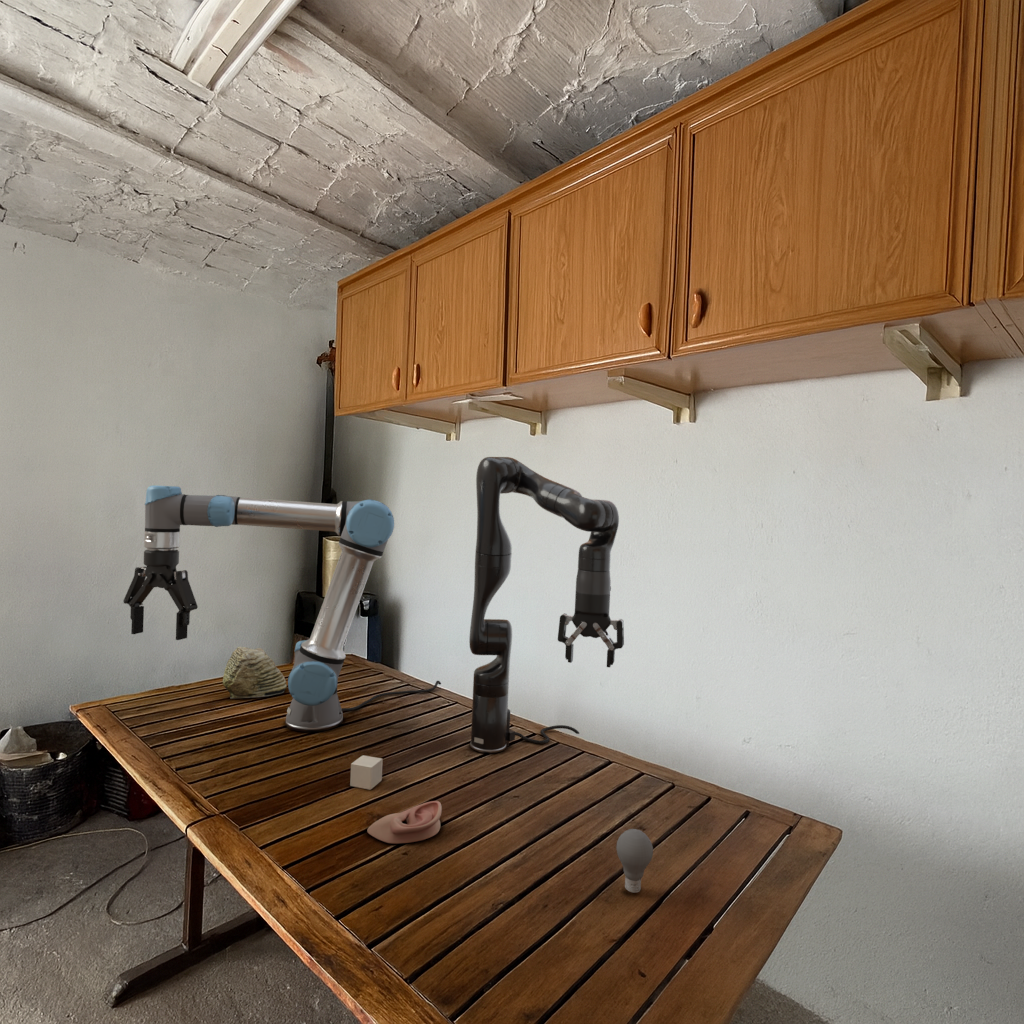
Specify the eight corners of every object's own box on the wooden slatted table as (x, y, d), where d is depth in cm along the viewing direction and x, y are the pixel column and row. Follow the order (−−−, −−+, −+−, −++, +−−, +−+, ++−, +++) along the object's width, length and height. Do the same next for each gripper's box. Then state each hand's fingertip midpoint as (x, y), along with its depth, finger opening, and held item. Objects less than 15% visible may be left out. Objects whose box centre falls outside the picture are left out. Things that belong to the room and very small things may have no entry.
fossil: (218, 695, 195) (220, 647, 195) (278, 685, 208) (279, 640, 207) (228, 703, 189) (230, 653, 188) (289, 692, 201) (290, 645, 201)
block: (350, 785, 139) (350, 763, 139) (361, 776, 144) (362, 755, 144) (370, 789, 138) (371, 767, 138) (381, 780, 143) (382, 758, 143)
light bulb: (610, 879, 108) (613, 822, 108) (644, 879, 109) (647, 822, 109) (619, 902, 102) (622, 840, 102) (655, 901, 103) (658, 840, 103)
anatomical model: (360, 817, 118) (385, 790, 129) (359, 839, 118) (384, 809, 129) (428, 828, 115) (447, 799, 126) (427, 850, 115) (446, 819, 126)
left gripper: (108, 546, 154) (105, 633, 154) (191, 553, 147) (188, 644, 147) (135, 545, 161) (132, 628, 161) (215, 551, 154) (212, 638, 154)
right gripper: (557, 590, 137) (553, 664, 137) (623, 595, 133) (619, 672, 133) (564, 586, 144) (561, 656, 144) (627, 591, 140) (624, 664, 140)
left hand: (159, 636), depth 154 cm, fingers open, 13 cm apart
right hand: (589, 664), depth 139 cm, fingers open, 8 cm apart
